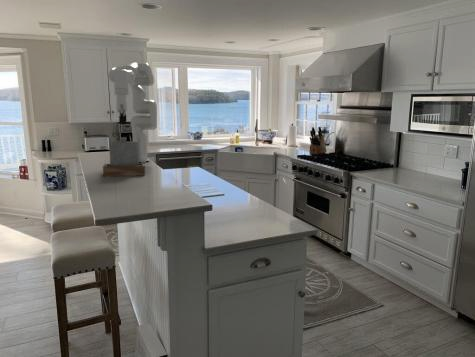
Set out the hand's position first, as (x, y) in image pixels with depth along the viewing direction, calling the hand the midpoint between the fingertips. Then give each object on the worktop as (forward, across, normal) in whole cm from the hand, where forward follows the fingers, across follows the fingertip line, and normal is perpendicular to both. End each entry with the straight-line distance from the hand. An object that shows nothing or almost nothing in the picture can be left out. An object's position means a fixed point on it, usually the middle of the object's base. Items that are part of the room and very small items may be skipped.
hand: (123, 122), depth 214 cm
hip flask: (+29, +1, 0) cm, 29 cm away
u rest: (+30, +1, 0) cm, 30 cm away
